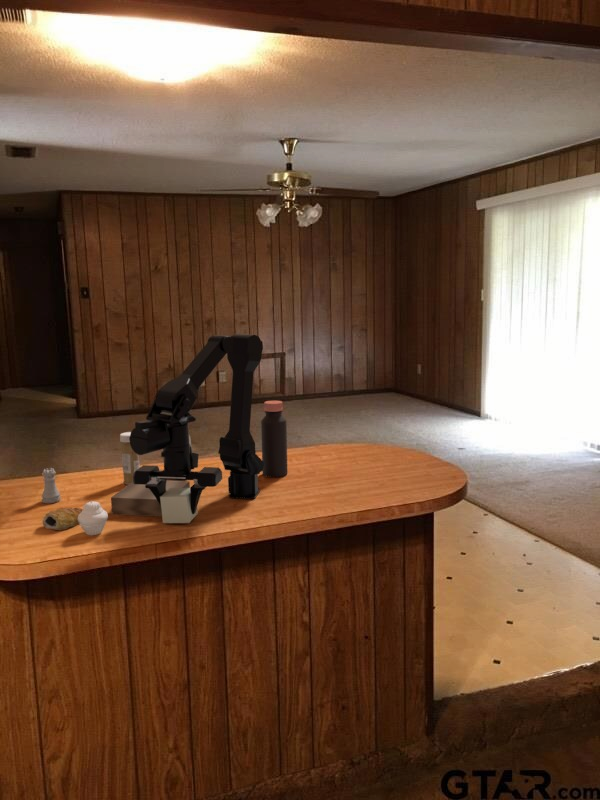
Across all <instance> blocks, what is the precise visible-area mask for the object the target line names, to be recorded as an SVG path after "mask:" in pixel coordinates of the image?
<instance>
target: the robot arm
mask: <svg viewBox="0 0 600 800" xmlns="http://www.w3.org/2000/svg"><path fill="white" fill-rule="evenodd" d="M263 350H264V345H263V341H262V340H261V338H260V337H259V336H258V335H256V334H246V333H234V334H232V335H231V336H228V335H224V334H223V335H221V334H220V335H219V334H214V335H211V336H210V337H208V339H207V342H206V343H205V345H204V346H203V347H202V349H200V351H199V352H198V353H197V355H196V356H195V357H193V358H194V359H192V360H191V362H190V363H189V364H188V365H187V366H186V368H185V369H184V370H183V371H182V373H180V374H179V375H178V376H177V377H175V378H173V379H171V380H168V381H167V382H166V383H165V384H164V385H162V386H161V387H160V388H159V389H158V390H157V392H156V393H155V395H154V400H153V402H152V405H151V407H150V409H149V411H148V413H147V415H146V418H145V419H146V420H143V421H142V420H141V421H140V420H139V421H135V423H134V428H133V429H132V430H131V431H130V432H131V435H130V437H129V441H130V445H131V448H132V449H133V451H134V452H135V453H136V454H138V455H139V456H143V455H146V454H150V453H154V452H158V451H161V450H162V451H161V452H160V456H161V458H163V470H160V467H159V466H158V465H148V464H147V465H146V464H145V465H142V466H140V468H139V469H138V470H136V471H135V472H134V474H133V483H134V484H144V485H145V488H149V489H150V490H151V492H152V493H153V495H154V496H155V497H156V499H157V501H158V502H159V504H160V506H161V501H160V497H161V496H162V495H163V494H164V493H165V492H166V481H167V480H170V481H193V485H191V486H190V493H191V510H192V514H195V512H196V509H197V510H198V504H199V501H200V498H201V495H202V492H203V490H205V489H206V488H207V487H209V488H212V487H216V486H218V484H219V483H220V482H221V481H222V480H223V471H222V470H221V468H220V466H219V467H215V466H213V467H211V466H209V467H208V466H204V467H202V469H200V471H193V470H195V469H196V468H197V469H198V467H199V454H198V453H196V452H193V450H192V449H193V448H191V447H192V445H191V446H189V435H190V434H189V423H194V422H196V420H197V419H196V417H194V416H193V415H192V414H191V413H190V412H191V410H192V408H193V406H194V405H195V403H196V401H197V400H198V391H199V390H200V387H202V385H203V384H204V382H205V381H206V380H207V378H208V377H210V375H211V374H212V372H213V371H214V370H215V369H216V367H217V366H218V365H219V364H220V362H221V361H222V360H223V359H224V357H225V356H226V355H227V356H226V357H227V361H228V363H229V365H230V367H231V370H232V379H231V380H232V381H231V395H230V408H229V412H230V413H229V427H228V431H227V432H226V434H225V436H220V438H219V442H218V443H219V449H218V452H217V453H218V454H219V459H220V461H221V462H222V465H223V468H224V470H225V471H229V476H228V478H227V480H228V481H227V483H228V484H227V485H228V489H227V490H228V493H229V495H228V498H230V499H245V500H246V499H247V500H250V499H251V500H252V499H253V500H254V499H256V497H257V496H258V494H259V493H260V492H261V489H259V477H258V475H259V474H260V473H263V467H264V462H263V461H262V458H260V457H259V455H257V452H256V441H255V440H254V438H253V435H252V434H251V429H250V427H251V414H252V404H253V403H252V401H253V400H252V399H253V387H254V386H253V385H254V373H255V371H256V369H257V367H258V366H259V365H260V363H261V360H262V355H263ZM191 469H192V470H191ZM184 475H186V476H184Z"/></svg>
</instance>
